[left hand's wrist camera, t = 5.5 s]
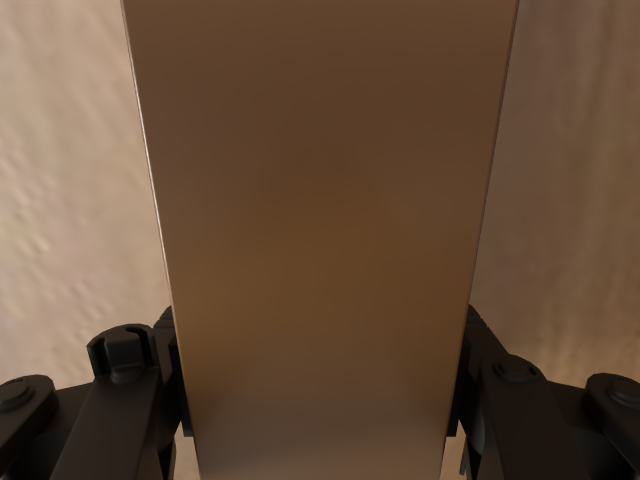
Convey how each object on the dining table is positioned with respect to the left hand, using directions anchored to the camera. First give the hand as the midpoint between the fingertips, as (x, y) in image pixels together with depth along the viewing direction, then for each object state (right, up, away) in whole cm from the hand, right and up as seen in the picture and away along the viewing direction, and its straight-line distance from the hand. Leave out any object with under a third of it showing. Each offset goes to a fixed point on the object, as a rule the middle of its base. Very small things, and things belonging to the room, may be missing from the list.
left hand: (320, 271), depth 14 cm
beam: (0, +23, -8) cm, 24 cm away
